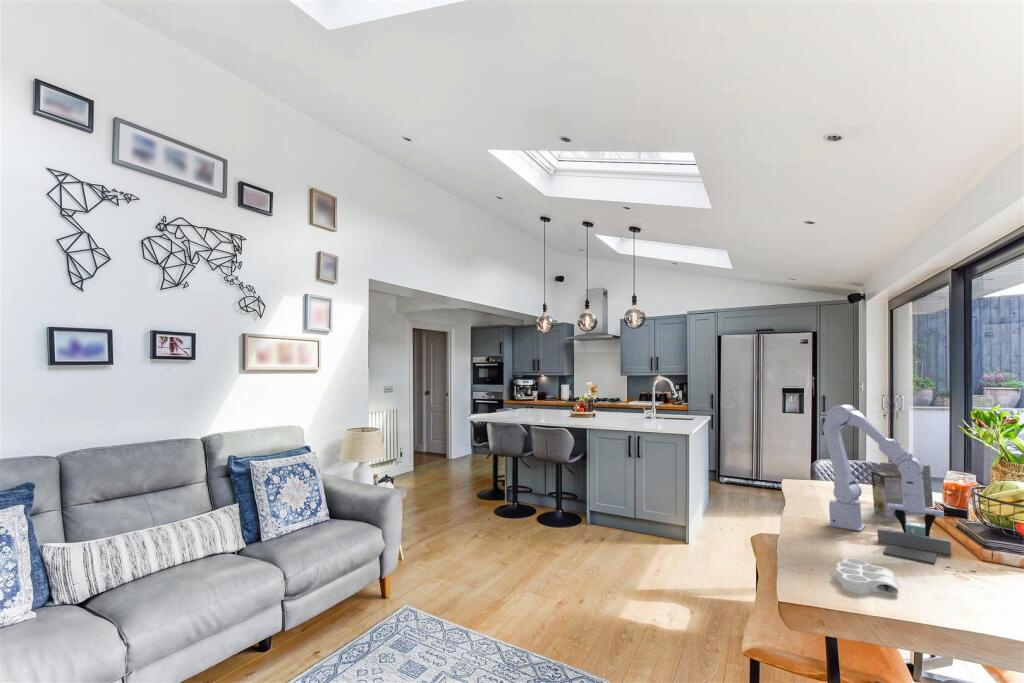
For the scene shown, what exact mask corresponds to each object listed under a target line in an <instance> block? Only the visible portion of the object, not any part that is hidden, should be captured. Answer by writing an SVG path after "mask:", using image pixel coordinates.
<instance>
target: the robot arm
mask: <svg viewBox="0 0 1024 683" xmlns="http://www.w3.org/2000/svg"><path fill="white" fill-rule="evenodd" d="M846 425H848V426H852V427H857V428H859V429H860V430H861V431H863V433H865V434H866V435H867V436H869V438H871V440H873V441H875V443H877V444H878V450H879V451H880V452H881V453H882V454H883V455H884V456H886V458H888V459H889V460H890V462H893V463H894V464H896V465H898V470H899V472H900V473H901V477H902V479H901V482H902V495H903V505H902V504H890V503H888V504H887V510H894V511H895V515H896V517H897V518H896V519H897V520H898V522H899V523H900V526H901V528H902V532H904V533H906V530H905V524H906V523H907V513H908V514H915V515H921V516H922V515H923V516H924V524H925V526H926V536H928V537H930V534H931V533H930V532H931V529H932V526H933V524H934V521H935V520H936V517H937V518H940V519H944V518H945V515H944V514H945V512H944V510H940V509H934V508H933V509H930V508H925V497H924V485H923V477H922V473H921V472H922V471H923V469H924V465H923V464H924V463H923V462H922V460H921V459H920V458H919V457H916V456H915V455H914V454H913V453H912V452H911V453H910V452H908V450H906V449H905V447H903V446H902V443H901V441H899V440H895V439H893V438H889V437H888V438H887V437H886V436H885V435H884V434H883V433H882V432H881V430H879V429H878V428H877V427H876V426H875V425H874V424H873V423H872V422H871V421H870V420H869V419H868V418H867V417H866V416H865V415H864V414H863V412H861V411H859V409H856V408H855V406H854V405H852V404H847V403H845V404H841V405H834V406H832V408H830V409H829V410H828V411H826V417H825V420H824V422H823V425H822V430H823V431H822V432H823V434H824V435H823V436H824V439H825V442H826V445H827V449H828V454H829V456H830V461H831V462H830V463H831V465H832V469H833V474H834V477H833V478H834V479H833V486H834V487H833V491H832V492H833V493H832V494H833V496H834V497H835V499H830V500H829V504H828V511H829V526H830V527H834V528H839V529H846V530H852V531H857V532H862V531H863V529H864V528H865V527H866V524H865V523H864V524H863V522H862V519H863V518H862V508H861V500H860V499H859V498H860V497H861V495H862V491H863V490H862V488H861V486H860V485H859V483H858V482H857V480H856V477H855V476H854V475H853V473H852V471H851V467H850V462H849V460H848V456H847V451H846V449H845V445H844V441H843V437H842V434H841V430H842V429H843V428H844V427H845V426H846ZM919 473H921V474H919Z"/></svg>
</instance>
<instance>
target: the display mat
mask: <svg viewBox="0 0 1024 683" xmlns="http://www.w3.org/2000/svg"><path fill="white" fill-rule="evenodd" d="M882 555H885V556H890V557H894V558H901V559H904V560H909V561H915V562H920V563H926V564H929V565H935V563H936V560H937V557H938V553H937V552H932V551H926V550H921V549H915V548H910V547H905V546H899V545H894V544H887V545H886V547H885V548H884V550H883V551H882Z"/></svg>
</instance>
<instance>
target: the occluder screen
mask: <svg viewBox="0 0 1024 683" xmlns="http://www.w3.org/2000/svg"><path fill="white" fill-rule="evenodd" d="M876 531H877V542H878V543H884V544H887V545H893V546H899V547H904V548H909V549H915V550H920V551H925V552H931V553H936V554H943V555H949V556H952V545H951V543H952V542H951V540H950V539H944V538H938V537H933V536H929V537H928V536H922V535H916V534H910V533H904V532H903V531H896V530H892V529H885V528H881V527H878V528H877V529H876Z"/></svg>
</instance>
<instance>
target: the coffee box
mask: <svg viewBox="0 0 1024 683" xmlns="http://www.w3.org/2000/svg"><path fill="white" fill-rule="evenodd" d="M871 483H872V497H873V499H872V500H873V510H874V512H875V513H876V514H878V515H880V516H882V517H884V518H885V519H898V518H897V517H896V515H895V511H894V510H887V504H888V503H890V504H902V505H903V500H902V486H901V476H899V475H896V474H894V473H891V472H889V471H881V470H880V471H878V470H877V471H876V470H875V471H874V470H872V471H871Z"/></svg>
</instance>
